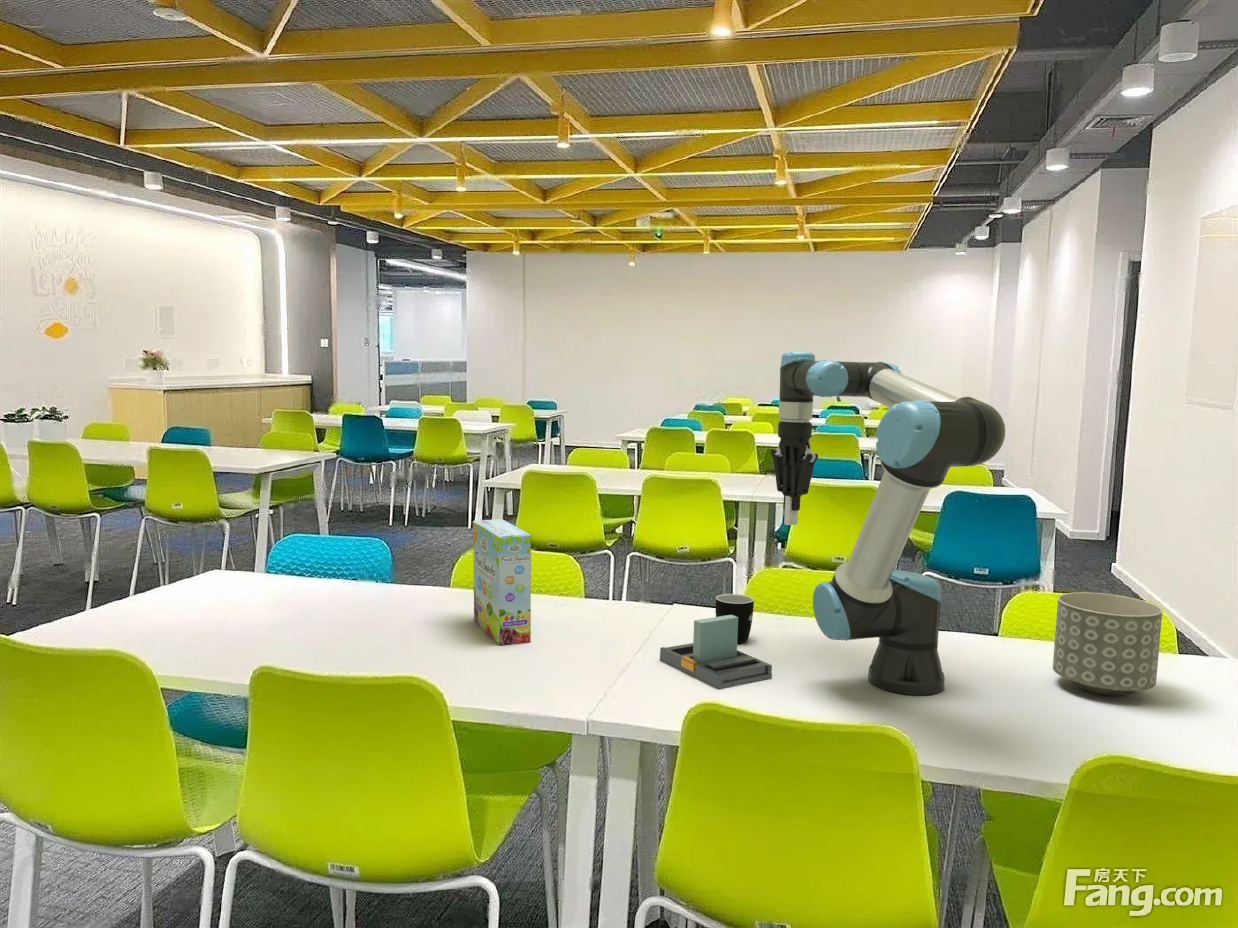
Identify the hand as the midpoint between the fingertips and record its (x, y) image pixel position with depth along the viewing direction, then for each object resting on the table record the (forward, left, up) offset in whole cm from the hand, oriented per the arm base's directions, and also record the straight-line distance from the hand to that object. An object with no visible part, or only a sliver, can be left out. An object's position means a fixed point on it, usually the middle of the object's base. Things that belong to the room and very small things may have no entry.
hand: (790, 524), depth 212 cm
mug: (+12, +5, -29) cm, 32 cm away
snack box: (+42, +52, -30) cm, 74 cm away
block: (-4, +23, -28) cm, 37 cm away
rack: (-4, +23, -29) cm, 38 cm away
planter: (-52, -40, -29) cm, 72 cm away
